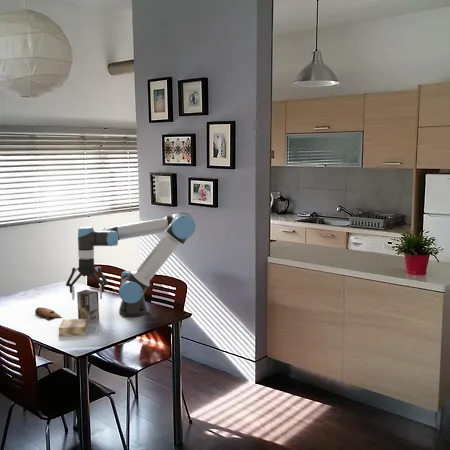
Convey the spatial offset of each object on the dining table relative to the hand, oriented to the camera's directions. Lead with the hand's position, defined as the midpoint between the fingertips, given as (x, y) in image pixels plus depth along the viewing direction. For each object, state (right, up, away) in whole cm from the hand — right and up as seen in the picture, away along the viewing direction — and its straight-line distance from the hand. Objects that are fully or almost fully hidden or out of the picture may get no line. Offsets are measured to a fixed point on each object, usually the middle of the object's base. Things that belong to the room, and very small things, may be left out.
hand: (87, 298), depth 255 cm
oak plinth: (-2, -13, -14) cm, 19 cm away
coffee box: (0, -13, +2) cm, 13 cm away
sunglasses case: (-24, -12, +12) cm, 29 cm away
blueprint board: (+1, -14, -13) cm, 20 cm away
